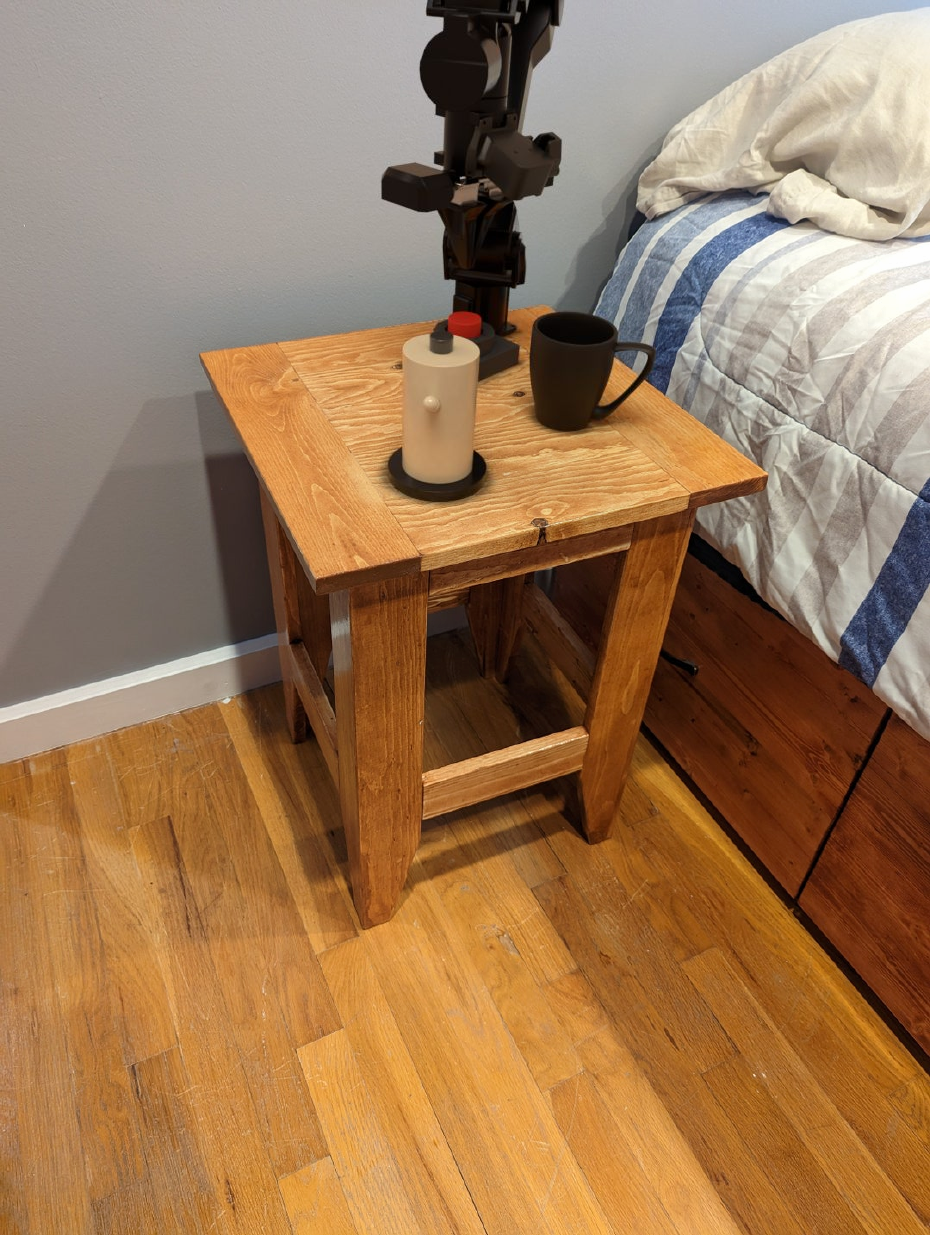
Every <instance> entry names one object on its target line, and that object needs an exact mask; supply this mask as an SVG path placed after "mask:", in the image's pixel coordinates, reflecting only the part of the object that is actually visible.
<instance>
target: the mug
mask: <svg viewBox="0 0 930 1235" xmlns="http://www.w3.org/2000/svg"><path fill="white" fill-rule="evenodd" d="M618 338H619V330H618V328H617V327H616V326H615V325H614V323H612V322H611V321H609V320H608V319H605V318H603V317H602V316H601V317H600V316H599V315H594V314H591V313H586V312H580V311H567V310H566V311H553V312H549V313H545V314H542V315H540V316H539V317H537V318H535V320H534V321H533V323H532V326H531V336H530V344H529V346H530V347H529V356H528V358H529V359H528V360H529V361H528V362H529V377H530V379H529V380H530V388H531V392H532V399H533V404H534V409H535V417H536V420H537V421H538V422H539V423H540V424H541V425H543V426H544V427H546V428H549V429H551V430H556V431H560V432H561V431H562V432H574V431H579V430H582V429H585V428H586V427H587V426H589V424H590V422H591V421H595V422H596V421H602V420H604V419H606V418H608V417H609V416H610V415H612V414H613V413H614V412H615V411H616V410H617V409H618V408H619V407H620V406H621V405H622V404H623V403H624V402H625V401H626V400H628V398H629V397H630V396H631V395H632V394H633V393H634V392H635V391H636V390H637V389H638V388H639V387H640V386H641V385H642V383H643V382H645V380H646V379H647V378H648V377H649V375H650V374H651V372H652V370H653V368H654V364H655V361H656V357H657V350H656V348H655V347H654V346H653V345H651V344H647V343H645V342H635V341H618ZM625 351H636V352H641V353H644V354H646V356H647V359H646V362H645V365H644V366H643V368H642V370H641V372H640V373H639V374H638V376H637V377H636V378H635V379H634V380H633V382H631V384H630V385H629V386H628V387H627V388H626V390H625V391H624V392H622V393H621V394H620V395H619V396H618V397H617V398H615V399H614V400H613V401H611V402H609V403H607V404H604V405H600V402H601V400H602V397H603V395H604V393H605V390H606V389H607V386H608V382H609V380H610V377H611V373H612V370H613V366H614V361H615V356H616V353H619V352H625Z"/></svg>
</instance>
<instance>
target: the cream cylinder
mask: <svg viewBox="0 0 930 1235" xmlns="http://www.w3.org/2000/svg"><path fill="white" fill-rule="evenodd" d="M401 348H402V356H401V357H402V358H401V361H402V362H401V364H402V372H401V374H402V376H401V377H402V378H401V380H402V382H401V385H402V387H401V391H402V392H401V402H402V404H401V406H402V407H401V408H402V409H401V437H402V438H401V447H402V466H403V469H404V471H405V472H406V473H407V474H408V475H409V476H411V477H413V478H414V479H417V480H419V481H422V482H426V483H434V484H445V483H452V482H456V481H459V480H461V479H463V478H465V477H466V476H467V475H468V474H469V473H470V472H471V470H472V465H473V450H475V448H474V447H475V433H476V416H477V402H478V388H479V387H478V385H479V381H478V373H479V358H480V350H479V348H478V346H477V345H476V344H475V343H473V342H472V341H470V340H468V339H466V338H463V337H460V336H456V335H453V334H452V333H450V332H447V331H435V332H433V331H432V332H431V333H426V334H421V335H417V336H414V337H411V338H410V339H407V340H406V342H404V344H403V345H402V347H401Z"/></svg>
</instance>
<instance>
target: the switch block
mask: <svg viewBox="0 0 930 1235" xmlns="http://www.w3.org/2000/svg"><path fill="white" fill-rule="evenodd" d="M435 331H447V332H448V318H447V319H443V320H441V321H439V322H437V323H436V325H435V326H434V327H433V331H432V332H435ZM466 339H468V340H470V341H472V342H473V343H475V344H476V345H477V346H478V348H479V350H480V358H479V373H478V382H480V381H482V380H485V379H487V378H488V377H491V376H493V375H495V374H498V373H500V372H502V371H504V370H507V369H509V368H511V367H513V366H515V365H517V364H519V360H520V348H521V345H520V344H519V343H516V342H514V341H512V340H509V339H507V338H504V337H503V336H502V337H500V336H498V335H495V331H494V329H493V328H492V327H491V325H489V324H487V323H485V322H482V321H481V334H480V336H477V337H475V338H466Z"/></svg>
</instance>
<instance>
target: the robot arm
mask: <svg viewBox="0 0 930 1235" xmlns="http://www.w3.org/2000/svg"><path fill="white" fill-rule="evenodd" d="M564 8H565V0H426V7H425V15H426V17H430V18H442V20H443V22H442V30H441V31H440V32H438V33H436V34H434V35H433V36H432V37H431V39H429V41H428V42H427V44H426V45H425V47H424V49H423V51H422V54H421V58H420V61H419V70H418V71H419V79H420V83H421V86H422V89H423V91H424V92H425V95H426V96H427V98H428V99H429V100H430V101H431V102H432V103H433V105H434V106H435V107H434V108H435V110H434V112H435V113H434V116H438V117H442V118H444V119H443V142H442V143H443V144H442V145H443V146H442V150H437V151H434V152H433V164H434V165H437V166H440V167H442V170H441V169H439V168H435V167H431V166H429V165H425V164H422V163H419V162H416V161H415V162H409V163H402V164H396V165H391V166H388V167H386V169H385V171H384V172H383V173H382V175H381V179H380V185H381V186H380V188H381V190H380V192H381V193H380V195H381V196H380V198H381V200H383V201H386V202H389V203H391V204H393V205H397V206H400V207H403V208H405V209H408V210H411V211H414V212H417V213H432V212H437V213H438V216H439V217H440V218H439V219H440V220H441V222H442V223H443V226H444V230H443V234H442V246H441V248H442V266H443V280H444V281H449V280H451V281H455V282H454V294H453V296H452V313H455V312H472V313H475V314H477V315H479V316H480V317H481V321H482V322H485V323H487V324H489V325H491V327H492V328H493V329H494V331H495V335H498V336H500V337H502V338H503V337H504V336H507V335H509V334H511V333H514V332H516V331H517V330H518V329H517V328H518V327H517V325H516V324H514V323H511V322H509V321H508V317H509V306H510V293H511V292H510V291H511V289H514V290H516V289H517V287H518V286H523V285H525V283H526V277H527V247H526V245H525V243H524V238H523V232H522V231H520V224H519V222H520V221H519V216H518V209H517V206H516V204H515V201H516V202H519V201H522V200H524V198H528V197H533V196H534V197H535V198H536V197H537V198H538V197H541V196H542V194H543V191H544V190H545V188H549V187H552V186H554V181H555V177H557V176H559V175H560V171H561V170H560V165H561V163H562V152H563V151H562V148H563V139H562V138H561V137H560V136H558V135H557V134H556V133H555V132H553V131H548V132H543V133H539V134H538V135H537V136H535V137H533V135H524V134H523V129H524V122H525V117H526V111H527V107H528V106H527V105H528V100H529V95H530V89H531V82H532V78H533V77H532V76H533V71H534V69H535V68H536V67H537V66H538V65H539V63H541V61H543V60H544V58H545V57H546V56H547V55H548V53H550V51H551V49H552V45H553V41H554V35H555V32H556V31H555V30H556V27H557V28H558V27H559V28H560V27H561V25H562V21H563V15H564Z"/></svg>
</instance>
